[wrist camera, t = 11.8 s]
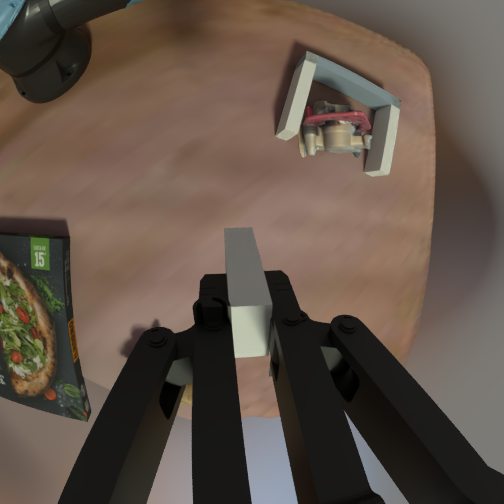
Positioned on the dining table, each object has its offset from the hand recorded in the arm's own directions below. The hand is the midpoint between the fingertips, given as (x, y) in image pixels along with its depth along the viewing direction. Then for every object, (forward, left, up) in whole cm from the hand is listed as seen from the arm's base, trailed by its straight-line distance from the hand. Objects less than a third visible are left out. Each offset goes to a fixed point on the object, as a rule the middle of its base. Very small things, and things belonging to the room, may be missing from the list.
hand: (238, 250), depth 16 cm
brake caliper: (-12, +21, -28) cm, 37 cm away
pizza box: (+10, -44, -28) cm, 53 cm away
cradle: (-14, +23, -27) cm, 39 cm away
